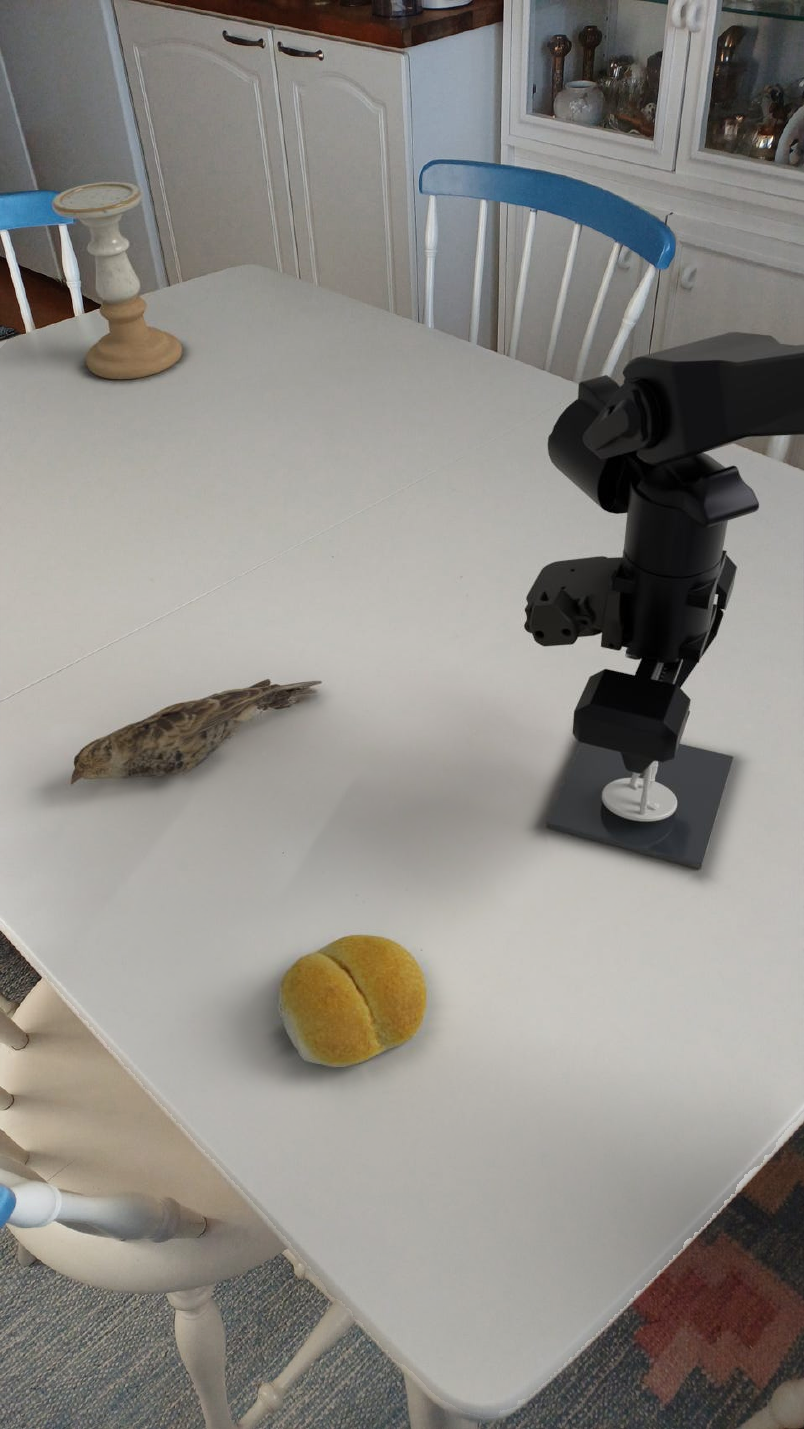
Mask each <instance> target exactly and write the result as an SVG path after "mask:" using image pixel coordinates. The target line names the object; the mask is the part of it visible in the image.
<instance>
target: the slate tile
mask: <svg viewBox="0 0 804 1429" xmlns="http://www.w3.org/2000/svg"><path fill="white" fill-rule="evenodd" d="M733 763H734V756H733V755H730V754H725V753H721V752H717V751H712V750H708V749H704V748H700V747H696V746H691V745H687V744H683V743H680V744H679V747H678V749H677V752H676V755H675V758H674V759H672V760H669V761H666V762H663V763H662V762H658V767H657V773H656V775H655V782H657V783H660V784H662V785H664V786H665V787H667V788H668V789H669V790H671V791H672V792H673V794H674V795H675V797H676V799H677V808H676V810H675V812H674V813H673V814H672V815H671V816H669V817H667V818H665V819H662V820H658V821H647V822H646V821H635V820H630V819H626V818H624V817H621V816H619V815H617V814H615V813H613V812H612V811H610V810H609V809H608V808H607V807H606V806H605V805H604V803H603V801H602V791H603V789H604V787H605V786H606V785H608V784H609V783H611V782H613V781H615V780H619V779H623V778H632V775H633V772H630V771H628V770H626V768H625V765H624V762H623V759H622V755H621V752H618V751H613V750H609V749H605V748H601V747H597V746H593V745H589V744H585V743H581V742H580V744H579V746H578V749H577V751H576V753H575V756H574V758H573V760H572V762H571V764H570V767H569V769H568V771H567V774H566V776H565V778H564V781H563V782H562V785H561V787H560V790H559V792H558V794H557V797H556V798H555V801H554V803H553V806H552V807H551V810H550V811H549V812H550V813H549V815H548V817H547V819H546V822H545V828H548V829H551V830H554V831H558V832H562V833H566V834H569V835H572V836H577V837H581V838H584V839H588V840H591V841H595V842H598V843H602V844H606V845H610V846H613V847H617V848H621V849H625V850H629V851H632V852H636V853H639V854H642V855H646V856H651V857H653V858H657V859H661V860H665V861H668V862H673V863H676V864H680V865H683V866H687V867H691V868H693V869H694V868H695V869H697V870H702V868H703V865H704V862H705V859H706V858H705V857H706V855H707V852H708V848H709V845H710V842H711V838H712V834H713V831H714V828H715V824H716V821H717V819H718V818H717V817H718V814H719V810H720V807H721V803H722V801H723V797H724V793H725V790H726V786H727V783H728V780H729V776H730V774H731V773H730V772H731V769H732V766H733ZM645 771H646V770H645ZM645 771H644V772H643V773H642V774H640V776H639V777H638V778H642V779H643V777H644V776H645Z"/></svg>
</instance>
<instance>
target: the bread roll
mask: <svg viewBox="0 0 804 1429" xmlns="http://www.w3.org/2000/svg"><path fill="white" fill-rule="evenodd" d="M278 996H279V997H278V998H279V1001H278V1009H277V1010H278V1013H279V1015H280V1016H279V1017H280V1019H281V1021H282V1024H283V1026H284V1029H285V1031H286V1034H287V1035H288V1038H289V1039H290V1041H291V1042H292V1045H293V1046H294V1047H295V1049H296V1050H297V1053H298V1055H299V1056H300V1058H301V1059H303V1060H304V1061H305V1062H309V1063H312V1064H317V1065H321V1066H322V1065H323V1066H326V1067H333V1068H347V1067H351V1066H354V1065H358V1064H361V1063H364V1062H366V1061H368V1060H370V1059H372V1058H374V1057H375V1056H378V1055H380V1054H381V1053H384V1052H386V1051H387V1050H390V1049H393V1048H396V1047H398V1046H400V1045H402V1044H405V1043H407V1042H408V1041H409V1040H412V1038H414V1037H415V1036H416V1034H417V1033H418V1031H419V1030H420V1029H421V1028H420V1027H421V1025H422V1022H423V1020H424V1017H425V1013H426V1007H427V999H428V994H427V982H426V978H425V975H424V973H423V971H422V969H421V967H420V965H419V963H418V962H417V960H416V958H415V957H414V956H413V955H412V953H410V951H408V950H407V949H406V948H405V947H404V946H402V945H401V944H400V943H398V942H397V941H395V940H391V939H389V938H386V937H382V936H377V935H369V934H353V935H352V934H351V935H347V936H343V937H340V938H338V939H337V940H334V941H332V942H330V943H328V944H327V945H325V946H323V947H321V948H320V949H319V950H316V951H314V952H312V953H309V954H306V955H304V956H302V957H301V956H300V958H298V959H297V960H296V961H295V962H294V963H293V964H292V965H291V966H290V967H289V968H287V970H286V972H285V973H284V975H283V977H282V980H281V982H280V989H279V995H278Z"/></svg>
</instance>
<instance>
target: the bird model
mask: <svg viewBox="0 0 804 1429" xmlns="http://www.w3.org/2000/svg"><path fill="white" fill-rule="evenodd" d="M271 683H272V682H271V680H270V679H269V678H267V679H263V680H260V681H259V682H257V683H255V684H253V685H250V686H249V687H245V688H235V689H234V688H233V689H227V690H224V691H220V692H217V693H213V694H211V695H209V696H205V697H204V698H200V699H196V700H195V699H194V700H189V701H182V702H179V703H175V704H172V705H168V706H166V707H165V708H162V709H160V710H159V711H156V712H155V713H154V714H152V715H150V716H148V717H146V718H143V719H142V720H140V721H136V722H133V723H130V724H128V725H125V726H123V727H121V728H119V729H117V730H115V731H113V732H111V733H109V734H107V735H106V736H103V737H100V738H97V739H95V740H93V741H91V742H89V743H88V744H87V745H85V746H83V747H82V748H81V749H80V751H79V752H78V753H77V754H76V755H75V756H74V759H73V766H74V769H73V772H72V775H71V779H70V783H69V784H70V786H73V785H74V784H75V783H77V782H78V781H79V780H80V779H84V780H86V781H88V780H89V781H91V780H101V779H102V780H103V779H104V780H105V779H131V778H133V779H135V778H156V777H164V776H167V775H174V774H185V773H187V772H188V771H190V770H191V769H192V768H195V767H196V766H199V765H200V764H201V763H202V762H203V761H206V759H207V758H208V757H209V756H210V755H212V753H214V752H215V751H216V750H217V749H218V748H219V747H220V746H221V745H222V744H223V743H224V742H225V741H226V740H229V739H231V738H233V736H234V734H235V733H236V731H237V729H238V728H239V726H241V725H242V723H245V724H247V723H248V722H251V721H252V720H253V719H254V717H255V714H257V710H262V711H260V713H259V714H260V715H262V714H263V713H265V712H267V711H271V710H276V711H277V710H283V709H289V708H291V707H292V706H293V705H294V704H298V703H299V702H300V701H302V700H303V699H304V698H305V697H310V696H311V694H315V693H317V692H318V691H317V690H318V689H316V688H312V687H313V686H317V685H320V684H322V683H323V681H322V680H311V681H301V682H295V683H288V684H282V685H281V684H278V683H273V684H271ZM294 699H296V700H294ZM292 700H294V701H292Z"/></svg>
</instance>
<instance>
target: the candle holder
mask: <svg viewBox="0 0 804 1429" xmlns="http://www.w3.org/2000/svg"><path fill="white" fill-rule="evenodd" d="M142 197H143V194H142V191H141V189H140V188H139V186H137V185H135V184H133V183H129V182H123V181H102V182H93V183H87V184H82V185H78V186H74V187H71V188H68V189H67V190H64V191H62V192H60V193H58V194H56V196H54V197H53V198H52V201H51V205H52V210H53V211H54V213H56V215H58V216H60V217H63V218H66V219H67V218H68V219H73V220H79V221H80V223H81V224H82V225H84V226H86V228H87V229H88V231H89V233H90V237H91V238H90V239H91V240H90V241H89V243H88V244H87V246H86V247H87V248H86V249H87V252H88V253H89V255H92V256H93V257H94V262H95V281H94V282H95V286H94V287H95V293H96V294H97V296H99V297H100V298H101V299H102V302H101V305H100V307H99V314H100V315H101V317H103V318H104V319H105V320H107V323H108V329H109V330H108V331H109V332H108V333H107V334H105V335H103V336H102V337H100V339H98V341H97V342H96V343H95V344H93V345H92V346H91V347H90V348H89V349H88V351H87V353H86V356H85V362H86V366H87V367H88V369H89V371H90V372H91V373H93V375H95V376H98V377H101V378H105V379H109V380H110V379H111V380H133V379H139V378H145V377H149V376H153V375H155V374H158V373H161V372H163V371H165V370H167V369H169V368H171V367H172V366H173V365H175V364H176V363H177V362H178V361H179V360H180V358H181V357H182V353H183V348H182V347H183V346H182V343H181V341H180V340H179V338H177V337H176V336H175V335H173V334H172V333H170V332H167V331H163V330H161V329H159V328H157V327H153V326H147V323H146V320H145V317H144V314H145V311H146V309H147V307H148V306H147V305H148V304H147V302H146V301H145V299H144V298H142V297H141V296H139V295H138V294H139V292H140V290H141V280H140V278H139V277H138V275H137V273H136V272H135V270H134V268H133V266H132V264H131V260H129V256H128V254H127V250H128V249H129V247H130V241H129V240H128V239H127V238H126V237H125V236H123V235H122V234H121V232H120V224H119V223H120V221H121V220H122V218H123V215H124V213H125V212H127V211H129V210H131V209H133V208H135V207H136V206H138V205H139V204H140V203H141V201H142V199H143V198H142Z"/></svg>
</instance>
